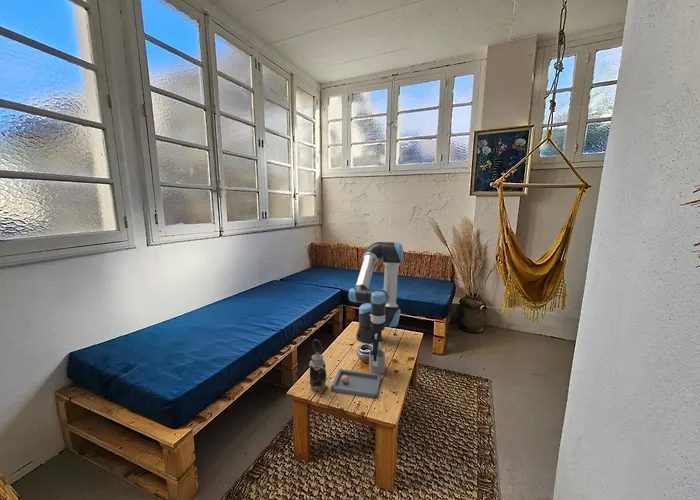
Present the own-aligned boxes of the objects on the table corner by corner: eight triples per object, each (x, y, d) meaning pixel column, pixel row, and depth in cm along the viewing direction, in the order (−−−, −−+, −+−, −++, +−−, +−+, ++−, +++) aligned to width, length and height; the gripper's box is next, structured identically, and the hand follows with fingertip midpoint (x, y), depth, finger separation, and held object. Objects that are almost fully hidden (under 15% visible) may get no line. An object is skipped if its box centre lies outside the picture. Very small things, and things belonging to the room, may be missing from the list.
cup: (383, 375, 149) (384, 358, 147) (368, 373, 151) (368, 356, 149) (385, 366, 157) (385, 350, 156) (370, 365, 159) (370, 348, 157)
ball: (342, 379, 145) (342, 373, 144) (349, 380, 144) (349, 374, 143) (340, 384, 141) (340, 377, 141) (347, 385, 140) (347, 378, 140)
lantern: (306, 387, 140) (304, 339, 135) (318, 380, 145) (318, 333, 141) (317, 395, 134) (316, 345, 130) (330, 387, 139) (329, 339, 135)
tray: (339, 372, 151) (339, 368, 151) (380, 378, 147) (380, 374, 146) (330, 392, 136) (330, 387, 136) (376, 399, 131) (376, 394, 131)
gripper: (374, 312, 162) (373, 347, 165) (366, 330, 138) (366, 371, 141) (387, 313, 161) (386, 348, 164) (382, 332, 137) (381, 373, 140)
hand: (376, 359), depth 152 cm, fingers open, 13 cm apart
